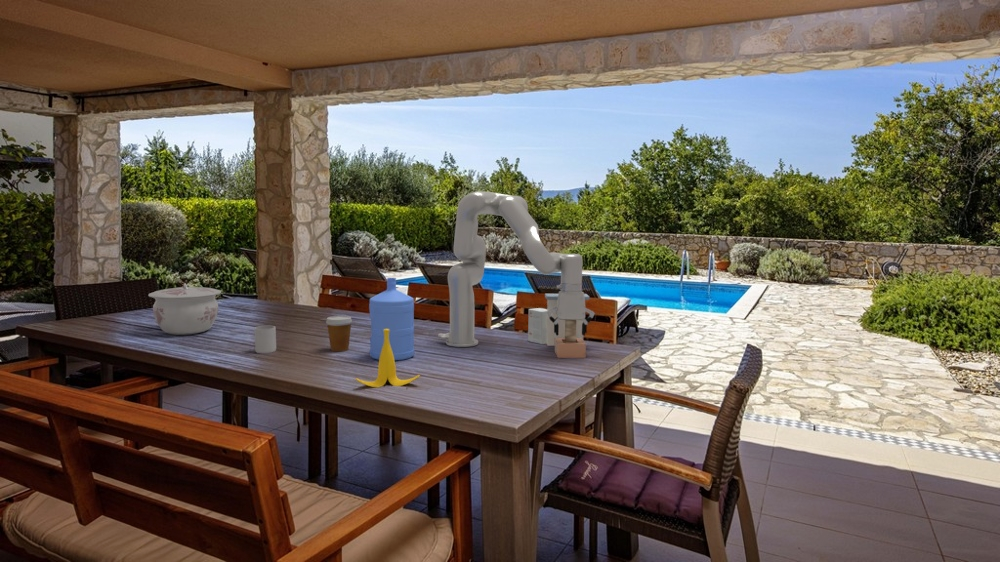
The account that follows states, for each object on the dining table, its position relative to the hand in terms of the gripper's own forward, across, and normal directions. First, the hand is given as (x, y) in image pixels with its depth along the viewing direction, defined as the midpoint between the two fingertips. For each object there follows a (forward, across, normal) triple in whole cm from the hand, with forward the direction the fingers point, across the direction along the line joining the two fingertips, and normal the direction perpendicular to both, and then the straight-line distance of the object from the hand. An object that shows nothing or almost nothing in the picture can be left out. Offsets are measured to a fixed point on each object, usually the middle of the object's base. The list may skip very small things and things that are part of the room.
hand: (570, 334), depth 231 cm
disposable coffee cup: (+7, -85, +6) cm, 86 cm away
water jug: (+7, -64, -4) cm, 65 cm away
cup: (+8, -111, +4) cm, 111 cm away
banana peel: (+8, -58, -39) cm, 70 cm away
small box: (+8, -9, +22) cm, 25 cm away
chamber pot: (+8, -156, +38) cm, 161 cm away
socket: (+7, 0, 0) cm, 7 cm away
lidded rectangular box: (+7, 0, +13) cm, 15 cm away
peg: (+6, 0, 0) cm, 6 cm away
